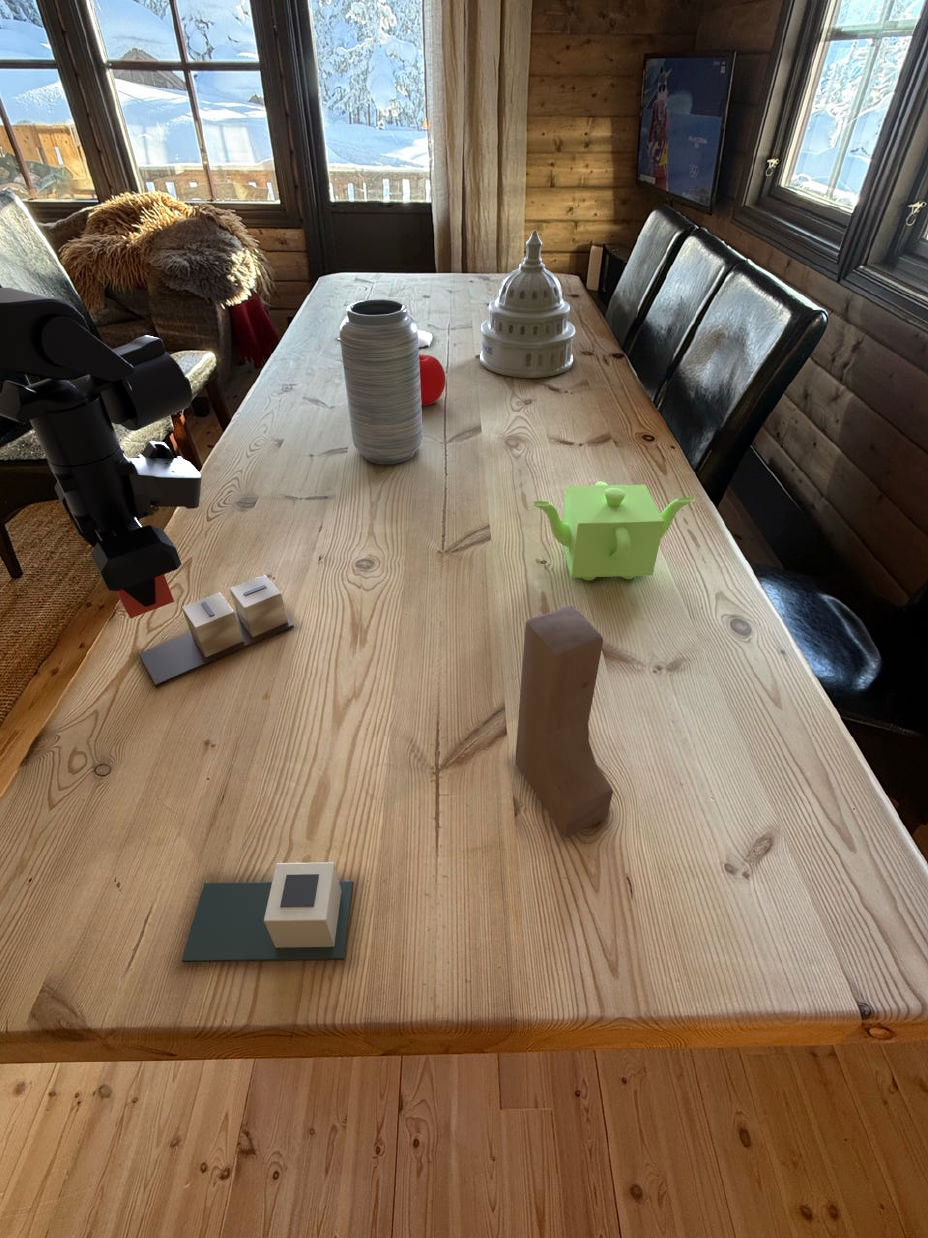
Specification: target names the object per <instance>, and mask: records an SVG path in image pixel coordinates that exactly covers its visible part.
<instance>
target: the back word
mask: <svg viewBox="0 0 928 1238" xmlns="http://www.w3.org/2000/svg"><path fill="white" fill-rule="evenodd" d="M228 589H229V592H230V595H231V598H232V599H231V600H232V602H233V605H234V608H235V610H234V609H233V608H232V607H231V605H230V603H228V601H227V600H226V598H225V597H224V596H223V594H222V593H221V592H220V591H219V592H217V593H214V594H212V595H209V596H207V597H204V598H202V599H198V600H196V601H193V602H191V603H188V604H186V605H183V606H181V610H182V613H183V615H184V618H185V620H186V623H187V626H188V629H189V632H188V633H186V634H183V635H181V636H179V637H176V638H174V639H171V640H169V641H166V642H164V643H162V644H159V645H156V646H154V647H151V648H149V649H147V650H144V651H141V652H140V653H138V656H139V658H140V660H141V662H142V663H143V665H144V667H145V669H146V671H147V672H148V675H149V677H150V679H151V680H152V682H153V684H154V686H155V688H159V687H160V686H163V685H165V684H167V683H169V682H172V681H174V680H176V679H179V678H180V677H183V676H186V675H188V674H190V673H193V672H195V671H197V670H200V669H202V668H205V667H207V666H209V665H212V664H213V663H216V662H218V661H220V660H222V659H224V658H227V657H229V656H231V655H234V654H235V653H238V652H240V651H243V650H245V649H248V648H250V647H252V646H255V645H256V644H259V643H262V642H264V641H266V640H268V639H271V638H273V637H276V636H278V635H280V634H283V633H284V632H287V631H289V630H292V629H294V628H295V624H293V622H292V621H291V620H290V618H288V615H287V612H286V607H285V603H284V599H283V594H282V592H281V591H280V590H279V588H278V587H277V586H276V585H275V584H274V583H273V582H272V581H271V579H270V578H269V577H268V576H267V575H266V574H262V575H260V576H258V577H254V578H253V579H250V580H248V581H244V582H242V583H240V584H237V585H234V586H232V587H230V588H228Z"/></svg>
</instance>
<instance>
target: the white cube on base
mask: <svg viewBox="0 0 928 1238" xmlns="http://www.w3.org/2000/svg"><path fill="white" fill-rule="evenodd" d="M274 867H275V868H274V872H273V876H272V881H260V882H259V881H257V882H256V881H254V882H253V881H252V882H251V881H249V882H203V883H204V884H203V885H202V889H201V892H200V897H199V900H198V904H197V906H196V910H195V913H194V916H193V920H192V923H191V927H190V929H189V933H188V935H187V936H188V937H187V940H186V943H185V946H184V948H183V949H184V950H183V953H182V957H181V960H180V961H181V963H182V964H186V963H191V964H194V963H248V962H250V963H254V962H255V963H256V962H312V961H313V962H317V961H318V962H319V961H322V962H323V961H324V962H325V961H345V957H346V950H347V940H348V932H349V924H350V916H351V907H352V899H353V891H354V881H353V880H339V876H338V872H337V868H336V865H335V862H277V863H275V866H274Z"/></svg>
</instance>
